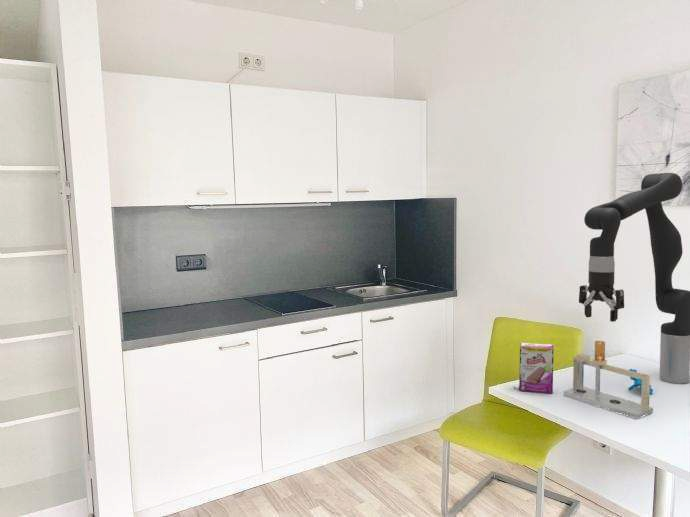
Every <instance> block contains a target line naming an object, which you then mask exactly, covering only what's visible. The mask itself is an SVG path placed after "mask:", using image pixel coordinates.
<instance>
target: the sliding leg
mask: <svg viewBox="0 0 690 517" xmlns="http://www.w3.org/2000/svg"><path fill="white" fill-rule="evenodd" d="M607 360H608V359H606V342H605V341H603V340H594V358H593V359H592V360H591V361H592V363H593V364H596V367H595V387H594V388H595V389H594V390H595V395H600V392H601V369H600V365H604V364H606V365H608V364H607V363H608V361H607Z"/></svg>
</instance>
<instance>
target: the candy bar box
mask: <svg viewBox="0 0 690 517" xmlns="http://www.w3.org/2000/svg"><path fill="white" fill-rule="evenodd" d="M554 350H555V349H554V345H553V344H549V343H548V344H546V343H545V344H544V343H531V342H520V343H519V376H518V377H519V380H518V381H519V384H518V385H519V387H518V388H519V389H518V390H519V392H520V391H521V392H528V393H529V392H532V393H542V394H553V390H554Z"/></svg>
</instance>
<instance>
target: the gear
mask: <svg viewBox="0 0 690 517" xmlns="http://www.w3.org/2000/svg"><path fill="white" fill-rule="evenodd" d="M628 370H629V371H633V372H637V373H638V371H637V370H636V369H635V368H634V369H633V368H630V369H628ZM629 378H630V380H631V381H633V383H634V384H632V385H631V386H629V387H628V388H627V390H628V391H630V390H631V391H632V390H634V389H635V388H638V389H639V390H640V391H642V380H641V379H637V378H634V377H630V376H629ZM653 392H654V389H653V388H652V385H651V384H650V396H651V395H653V394H654V393H653Z"/></svg>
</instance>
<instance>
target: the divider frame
mask: <svg viewBox="0 0 690 517" xmlns="http://www.w3.org/2000/svg"><path fill="white" fill-rule="evenodd" d="M590 357H591V355H590V354H589V355H588V354H584V353H578V354H576V356H575V357H573V363H572V364H573V366H572V367H573V368H572V369H573V372H572V373H573V375H572V376H573V377H572V378H573V380H572V381H573V384H572V388H569V389H565V390H563V396H565V397H567V396H568V398H570V397H571V398H570V399H573V398H574V399H573V400H576V399H577V400H576V401H579V400H581V401H580V402H582V401H584V402H583V403H585V402H586V404H588V403H590V404H589V405H591V404H593V405H592V406H594V405H596V406H595V407H597V406H600V407H603V408H606V409H609V410H612V411H615V412H618V413H622V414H625V415H628V416H631V417H634V418H636V419H637V418H639V417H641V416H643V415H646V414H648V415H650V414H649V413H651V414H653V413H654V407H651V406H650V396H651V395H650V385H651V375H649V374H646V373H641V372H638V371H637V372H633V371H629V370H630V369H626V368H625V369H624V368H620V367H616V366H613V365H610V364H604V365H600V370H604V371H607V372H612V373H615V374H619V375H623V376H627V377H629V378H630V377H634V378H637V379H641V380H642V391H641V390H640V391H641V396H640V398H641V399H640V400H641V401H640V403H638V402H635V401H631V400H628V399H625V398H621V397H619V396H616V395H612V394H609V393H606V392H603V391H600V395H595V389H592V388H589V387H586V386H584V379H585V378H584V374H585V373H584V370H585V369H584V367H585V366H588V367H593V368H596V364H593V363H592V360H590V359H591V358H590ZM600 407H599V408H600ZM603 408H602V409H603ZM606 409H605V410H606ZM609 410H608V411H609ZM612 411H611V412H612ZM615 412H614V413H615ZM652 412H653V413H652ZM618 413H617V414H618ZM646 416H647V415H646ZM641 418H642V417H641ZM636 419H635V420H636ZM639 419H640V418H639ZM637 420H638V419H637Z"/></svg>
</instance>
